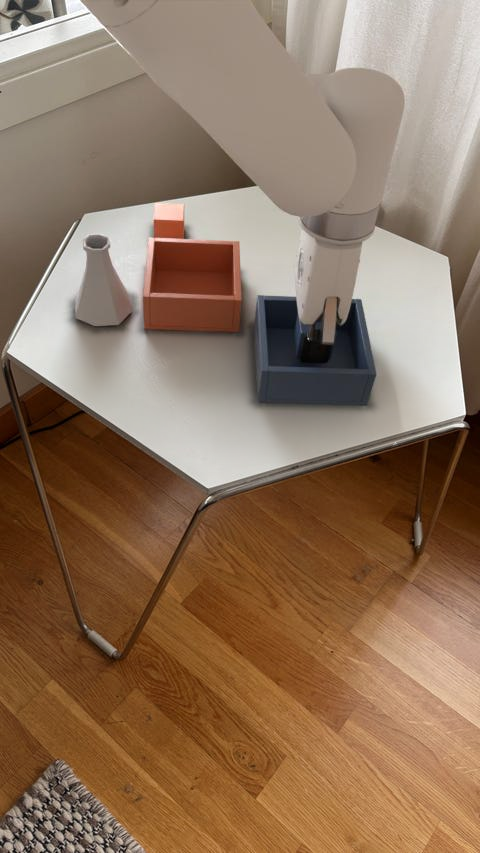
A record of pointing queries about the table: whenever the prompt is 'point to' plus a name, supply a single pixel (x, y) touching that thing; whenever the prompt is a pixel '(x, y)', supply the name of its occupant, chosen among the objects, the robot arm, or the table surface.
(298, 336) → the slate block
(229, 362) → the table surface
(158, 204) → the terracotta block
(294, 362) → the slate bin
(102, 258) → the flask
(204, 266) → the terracotta bin
